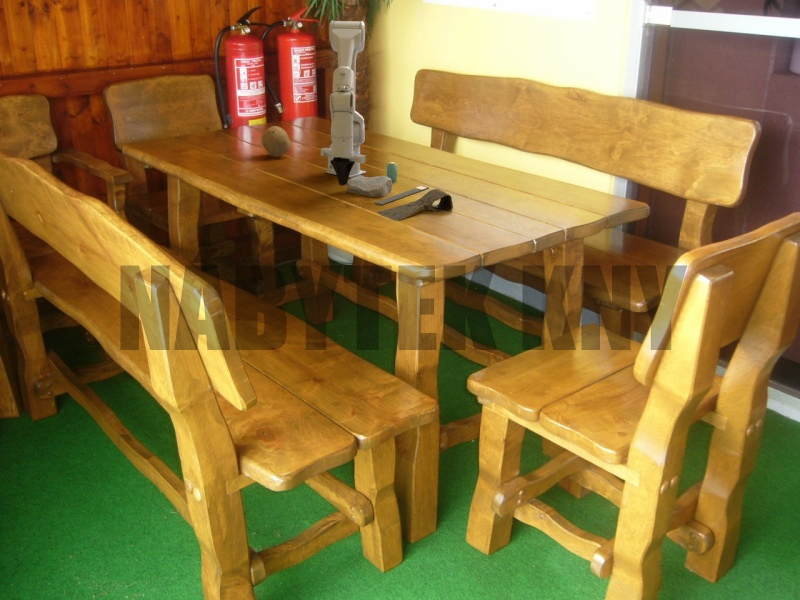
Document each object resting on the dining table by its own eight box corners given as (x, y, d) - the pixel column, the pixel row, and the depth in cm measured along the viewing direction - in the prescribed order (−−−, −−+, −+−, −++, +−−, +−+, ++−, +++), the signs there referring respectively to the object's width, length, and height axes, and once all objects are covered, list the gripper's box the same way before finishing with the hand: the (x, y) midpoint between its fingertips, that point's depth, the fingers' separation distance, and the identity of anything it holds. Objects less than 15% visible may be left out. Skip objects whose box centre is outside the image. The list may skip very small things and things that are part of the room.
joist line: (374, 203, 220) (374, 202, 220) (421, 187, 237) (421, 185, 237) (382, 205, 219) (382, 203, 219) (428, 188, 236) (428, 187, 235)
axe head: (389, 216, 204) (370, 206, 212) (391, 235, 207) (373, 224, 215) (458, 194, 212) (438, 185, 220) (460, 212, 215) (440, 202, 223)
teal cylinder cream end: (384, 181, 242) (384, 163, 240) (390, 179, 245) (390, 161, 242) (392, 182, 241) (393, 164, 239) (398, 180, 243) (399, 162, 241)
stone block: (384, 204, 227) (394, 188, 235) (383, 188, 224) (392, 173, 232) (343, 202, 230) (354, 186, 238) (342, 186, 227) (353, 171, 235)
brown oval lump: (260, 154, 271) (259, 123, 267) (287, 153, 273) (286, 122, 269) (264, 160, 263) (263, 129, 259) (292, 159, 265) (291, 128, 261)
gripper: (313, 134, 226) (314, 183, 231) (353, 142, 218) (354, 191, 224) (329, 130, 231) (330, 178, 237) (370, 138, 223) (370, 186, 229)
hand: (343, 184), depth 230 cm, fingers closed
